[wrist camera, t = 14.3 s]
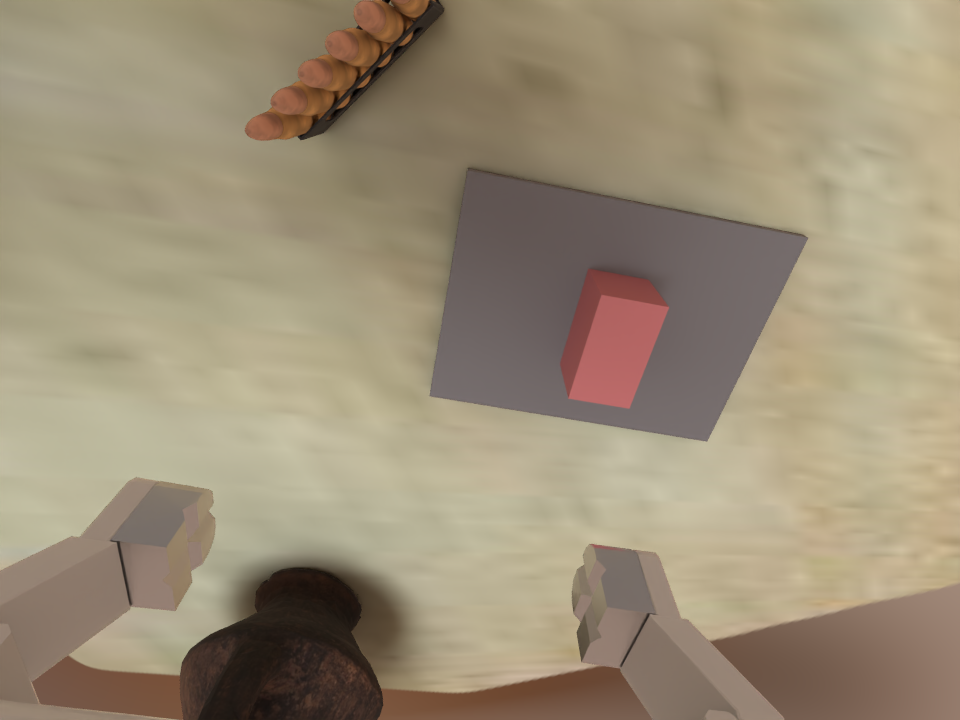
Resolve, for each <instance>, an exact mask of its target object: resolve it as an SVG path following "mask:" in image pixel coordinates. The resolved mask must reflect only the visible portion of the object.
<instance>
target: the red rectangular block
mask: <svg viewBox="0 0 960 720" xmlns="http://www.w3.org/2000/svg"><path fill="white" fill-rule="evenodd" d="M668 309H669V306H668V305H667V304H666V302H665V301H664V300H663V298H662V297H661V296H660V294H659V293H658V292H657V290H656V289H655V288H654V286H653V285H652V284H651V282H650V281H649V280H647V279H642V278H636V277H631V276H626V275H620V274H615V273H610V272H604V271H599V270H594V269H588V272H587V275H586V278H585V282H584V285H583V288H582V292H581V295H580V298H579V302H578V305H577V308H576V312H575V315H574V318H573V322H572V325H571V328H570V332H569V335H568V338H567V342H566V345H565V348H564V352H563V355H562V358H561V362H560V367H561V371H562V375H563V379H564V383H565V387H566V391H567V395H568V399H574V400H580V401H586V402H592V403H598V404H604V405H610V406H616V407H622V408H628V409H629V408H630V406H631V403H632V401H633V398H634V396H635V393H636V391H637V388H638V385H639V383H640V380H641V378H642V375H643V373H644V370H645V368H646V365H647V363H648V360H649V357H650V355H651V352H652V350H653V347H654V345H655V342H656V340H657V337H658V335H659V332H660V329H661V327H662V324H663V322H664V319H665V317H666V314H667V312H668Z"/></svg>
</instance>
